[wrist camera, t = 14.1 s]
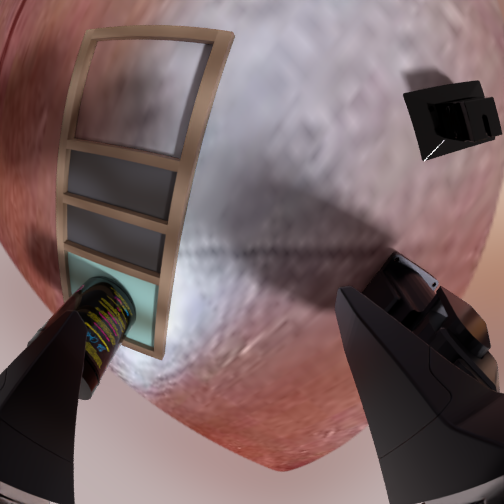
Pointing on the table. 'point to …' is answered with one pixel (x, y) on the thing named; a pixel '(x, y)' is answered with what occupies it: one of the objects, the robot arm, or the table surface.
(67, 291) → the compartment sorting tray
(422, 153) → the black box
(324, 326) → the table surface
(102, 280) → the supplement container
